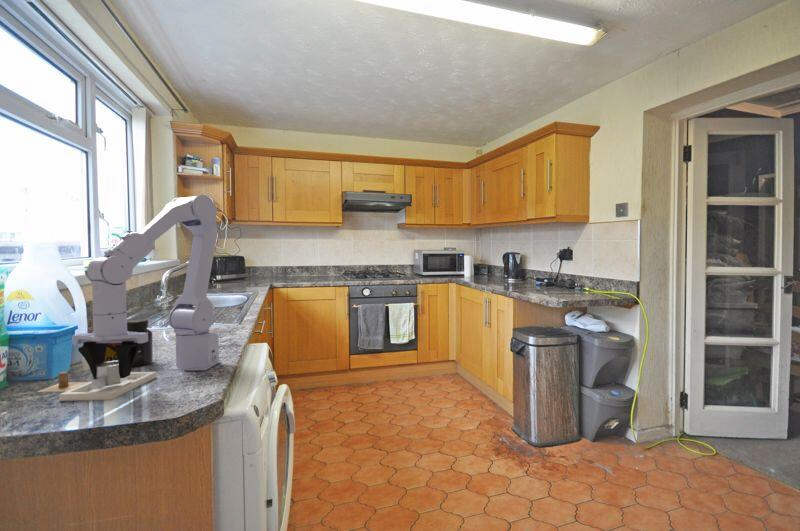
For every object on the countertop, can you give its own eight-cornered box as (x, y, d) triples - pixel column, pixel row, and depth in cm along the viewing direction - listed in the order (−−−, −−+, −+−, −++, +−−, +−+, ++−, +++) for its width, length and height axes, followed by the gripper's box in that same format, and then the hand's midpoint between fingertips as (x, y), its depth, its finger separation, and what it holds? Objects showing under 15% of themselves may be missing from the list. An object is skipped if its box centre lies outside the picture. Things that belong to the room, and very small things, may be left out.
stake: (88, 384, 85) (88, 368, 85) (65, 393, 79) (65, 376, 79) (61, 384, 85) (61, 369, 85) (36, 394, 79) (36, 377, 79)
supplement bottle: (128, 371, 95) (127, 323, 94) (116, 367, 98) (115, 321, 98) (158, 364, 100) (157, 319, 100) (145, 361, 104) (144, 317, 104)
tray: (156, 379, 88) (156, 371, 88) (111, 402, 74) (111, 393, 74) (112, 380, 88) (112, 372, 88) (59, 403, 74) (59, 394, 74)
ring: (131, 378, 83) (131, 360, 83) (108, 389, 77) (107, 369, 76) (108, 378, 83) (108, 360, 83) (83, 389, 76) (82, 369, 76)
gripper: (58, 316, 77) (61, 383, 77) (131, 315, 77) (133, 382, 77) (87, 311, 84) (88, 373, 84) (153, 310, 84) (155, 371, 84)
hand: (111, 376), depth 81 cm, fingers closed on ring, 5 cm apart
